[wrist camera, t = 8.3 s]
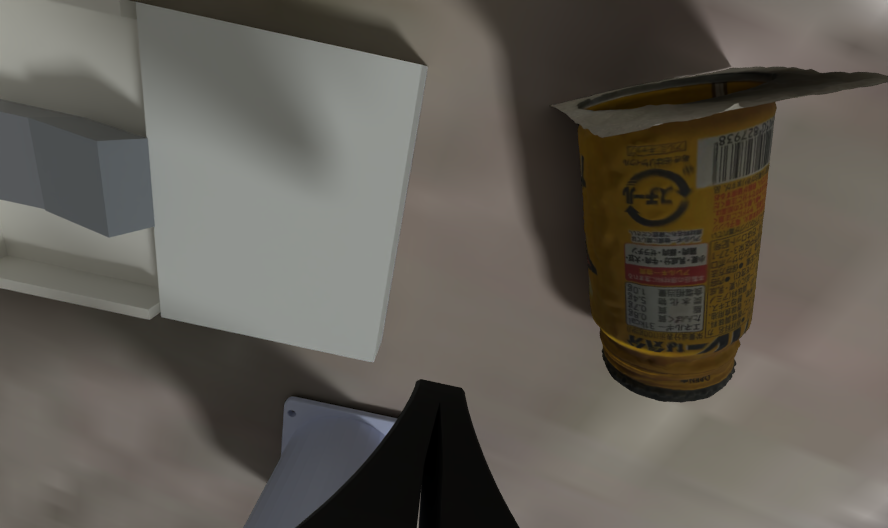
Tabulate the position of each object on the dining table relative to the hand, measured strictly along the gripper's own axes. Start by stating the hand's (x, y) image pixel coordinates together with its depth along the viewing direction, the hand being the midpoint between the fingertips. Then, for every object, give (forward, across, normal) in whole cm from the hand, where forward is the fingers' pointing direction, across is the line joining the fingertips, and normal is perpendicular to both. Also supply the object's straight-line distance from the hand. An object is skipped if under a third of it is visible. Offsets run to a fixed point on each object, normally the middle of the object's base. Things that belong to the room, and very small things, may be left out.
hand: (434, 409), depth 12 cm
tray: (+10, +19, -2) cm, 22 cm away
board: (+10, +8, -2) cm, 13 cm away
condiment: (+6, -6, -10) cm, 13 cm away
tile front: (+8, +16, -2) cm, 18 cm away
